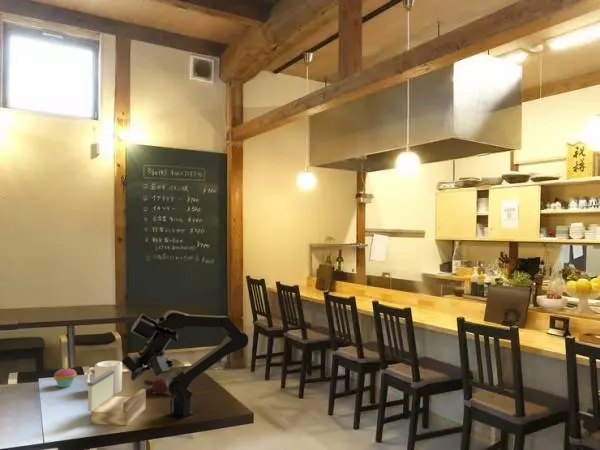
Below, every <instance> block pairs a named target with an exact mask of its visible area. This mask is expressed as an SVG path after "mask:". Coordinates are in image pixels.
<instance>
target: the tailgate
mask: <svg viewBox="0 0 600 450" xmlns="http://www.w3.org/2000/svg"><path fill="white" fill-rule="evenodd" d="M113 374H114V370H109V371H108V372H106V373H104V374H102V375H101V376H99V377H97V378H95V377H94V379H92V380H90V382H88V386H87V387H88V392H87V393H88V396H87V399H88V401H87V412H92V411H93V410H94V409H96V408H97V407H98V406H100V405H101V404H103V403H104V402H106V401H107V400H108V399H110V398H111V397H113V396H114V394H113Z"/></svg>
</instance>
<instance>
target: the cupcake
mask: <svg viewBox="0 0 600 450" xmlns="http://www.w3.org/2000/svg"><path fill="white" fill-rule="evenodd" d="M67 360H68V358H67V356H65V358H64V368H60V369H58V370H56V372H54V374H53V379H54V380H55V381H56V383H57V387H58V388H60V387H65V388H69V387H71V386H72V384H73V381H74V379H75V378H76V377H77V371H76V369H73V368H69V367H68V368H67V365H68V364H67V363H68V361H67Z"/></svg>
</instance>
